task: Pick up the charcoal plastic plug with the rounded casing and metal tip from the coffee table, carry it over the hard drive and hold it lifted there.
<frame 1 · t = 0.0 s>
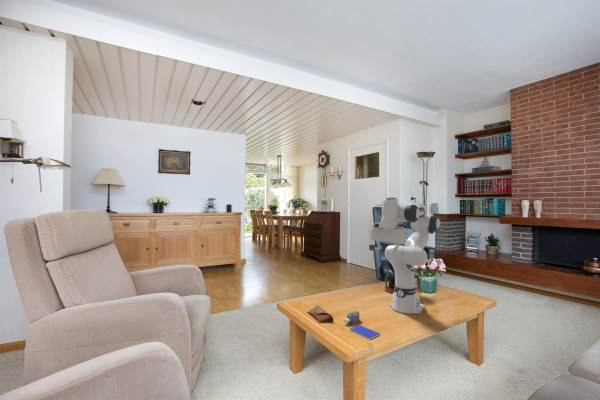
hand: (387, 250, 160), 39 cm above the table, tool pointing down, fingers open, 8 cm apart
sunglasses case: (319, 317, 162), on the table
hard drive: (364, 334, 143), on the table
plug: (353, 321, 157), on the table
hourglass: (395, 291, 213), on the table
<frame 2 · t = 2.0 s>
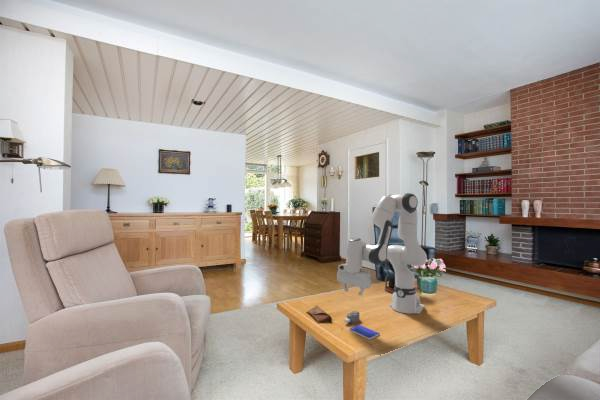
hand: (353, 293, 157), 15 cm above the table, tool pointing down, fingers open, 8 cm apart
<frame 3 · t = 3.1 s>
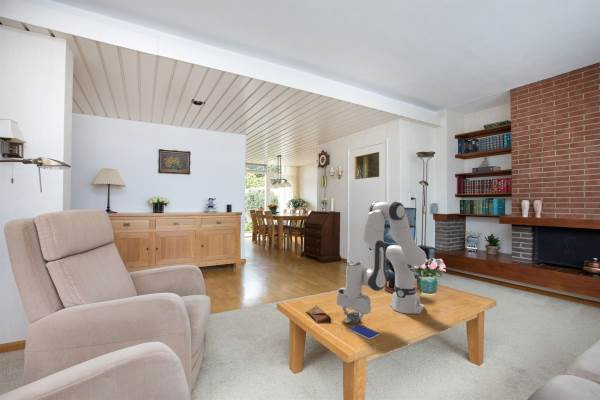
hand: (353, 317, 157), 2 cm above the table, tool pointing down, fingers open, 8 cm apart
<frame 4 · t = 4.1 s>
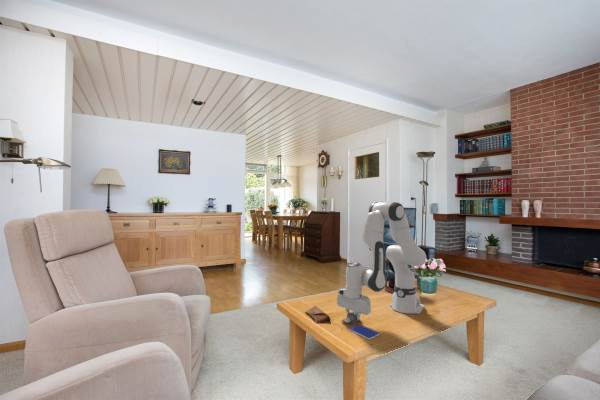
hand: (353, 318, 157), 2 cm above the table, tool pointing down, fingers closed on plug, 4 cm apart
plug: (353, 320, 157), on the table, touching gripper
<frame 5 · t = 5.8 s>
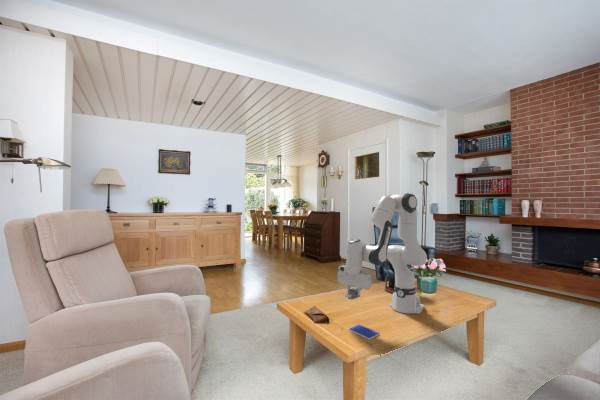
hand: (354, 294, 157), 15 cm above the table, tool pointing down, fingers closed on plug, 4 cm apart
plug: (353, 297, 157), point 13 cm above the table, touching gripper
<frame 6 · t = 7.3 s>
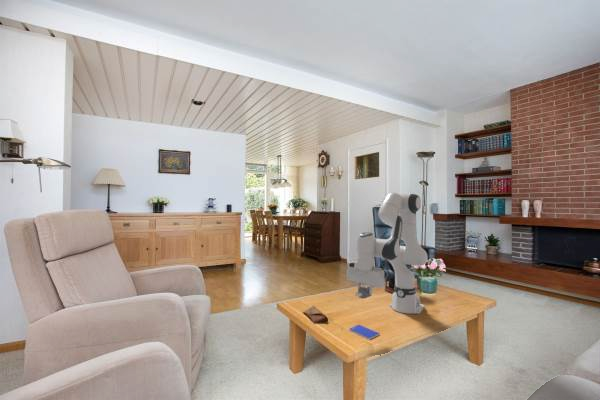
hand: (365, 292, 143), 20 cm above the table, tool pointing down, fingers closed on plug, 4 cm apart
plug: (364, 295, 143), point 18 cm above the table, touching gripper
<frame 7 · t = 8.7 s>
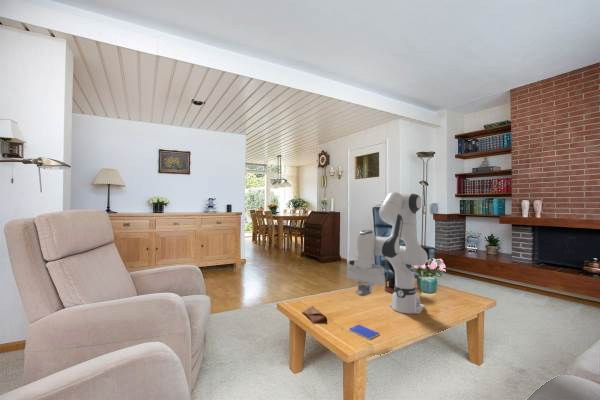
hand: (365, 290, 143), 21 cm above the table, tool pointing down, fingers closed on plug, 4 cm apart
plug: (364, 293, 143), point 19 cm above the table, touching gripper
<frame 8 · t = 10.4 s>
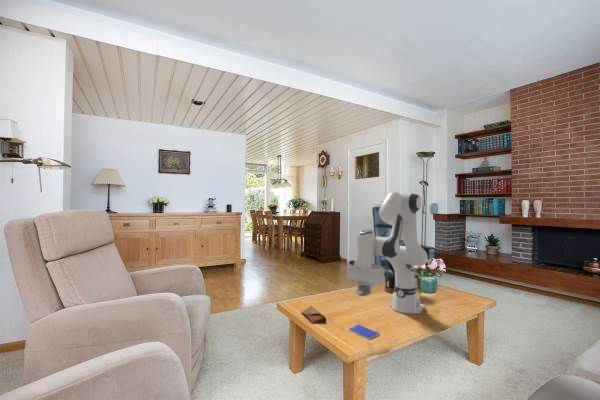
hand: (365, 290, 143), 21 cm above the table, tool pointing down, fingers closed on plug, 4 cm apart
plug: (364, 293, 143), point 19 cm above the table, touching gripper
at the end: the gripper is holding plug; plug inside the target area (0.1 cm from its centre), point 19.5 cm above the table; plug moved 24.3 cm from its start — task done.
